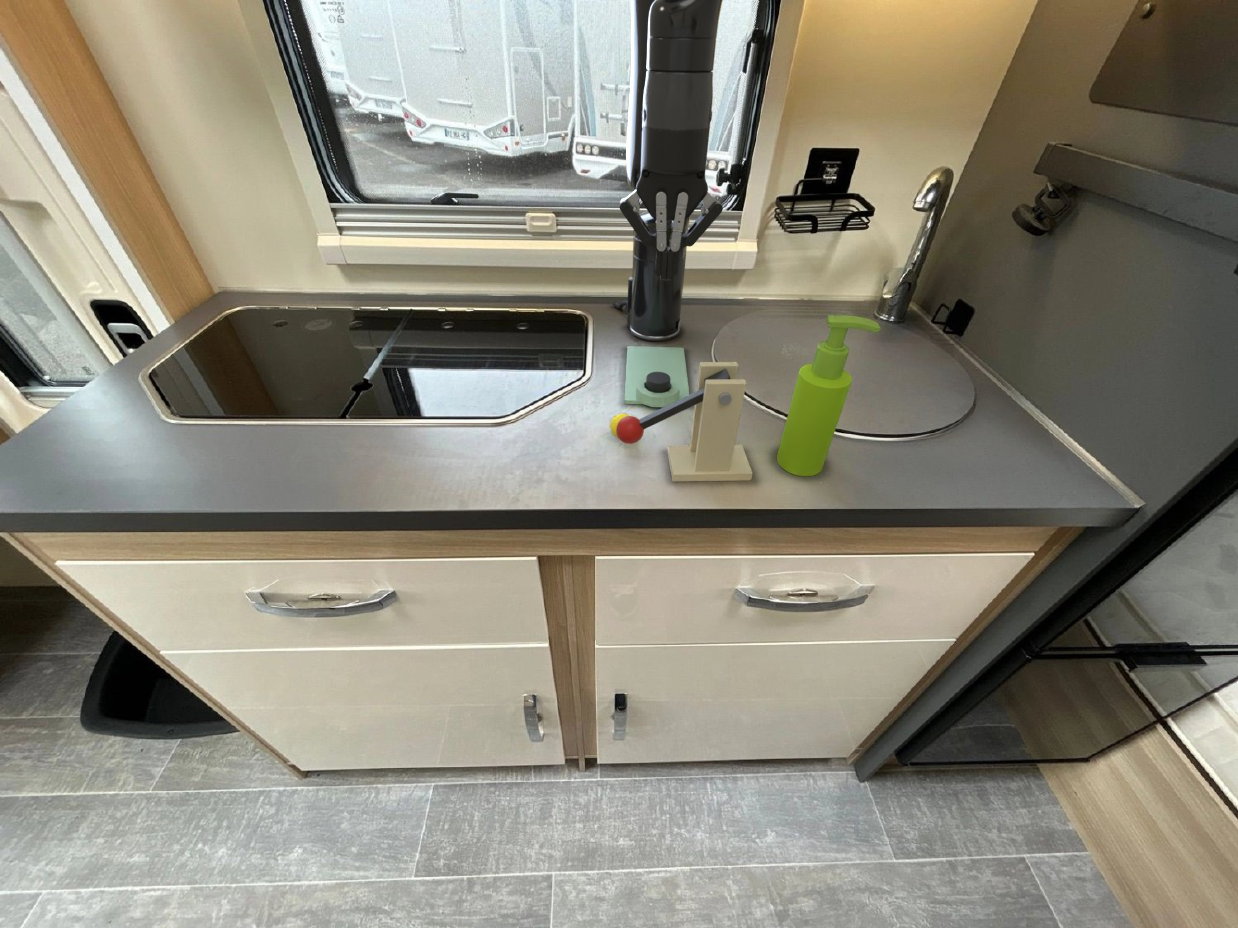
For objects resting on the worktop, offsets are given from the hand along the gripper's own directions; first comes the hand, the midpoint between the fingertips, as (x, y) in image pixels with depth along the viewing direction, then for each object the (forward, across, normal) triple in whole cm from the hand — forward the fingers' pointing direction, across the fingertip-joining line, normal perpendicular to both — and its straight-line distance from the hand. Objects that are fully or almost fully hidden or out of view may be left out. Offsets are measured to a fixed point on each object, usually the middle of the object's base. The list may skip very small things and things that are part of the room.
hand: (665, 278), depth 69 cm
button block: (+19, 0, -8) cm, 20 cm away
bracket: (+19, -6, +16) cm, 25 cm away
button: (+17, 0, 0) cm, 17 cm away
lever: (+11, -2, +16) cm, 20 cm away
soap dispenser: (+19, -19, +14) cm, 31 cm away
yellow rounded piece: (+19, +5, +9) cm, 21 cm away
